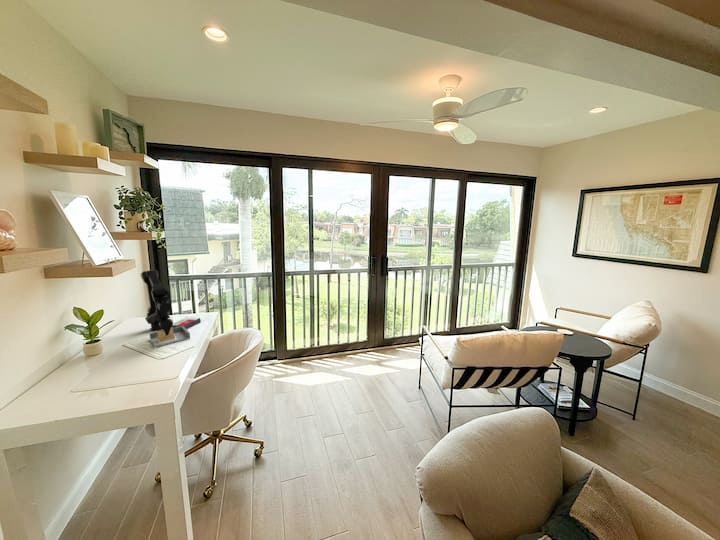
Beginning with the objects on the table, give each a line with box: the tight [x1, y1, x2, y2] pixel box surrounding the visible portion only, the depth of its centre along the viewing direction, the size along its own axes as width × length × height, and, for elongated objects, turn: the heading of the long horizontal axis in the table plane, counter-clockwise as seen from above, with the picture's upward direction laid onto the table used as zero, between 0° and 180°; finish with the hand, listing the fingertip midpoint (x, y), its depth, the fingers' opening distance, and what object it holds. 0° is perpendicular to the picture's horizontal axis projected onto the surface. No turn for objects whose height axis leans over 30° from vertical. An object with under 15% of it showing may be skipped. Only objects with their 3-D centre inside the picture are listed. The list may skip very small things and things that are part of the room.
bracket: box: [156, 327, 175, 343], centre depth 173 cm, size 8×5×6 cm, turn 133°
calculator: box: [172, 316, 202, 330], centre depth 198 cm, size 11×4×15 cm
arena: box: [149, 326, 191, 348], centre depth 176 cm, size 16×18×4 cm
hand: (165, 333), depth 175 cm, fingers open, 9 cm apart
